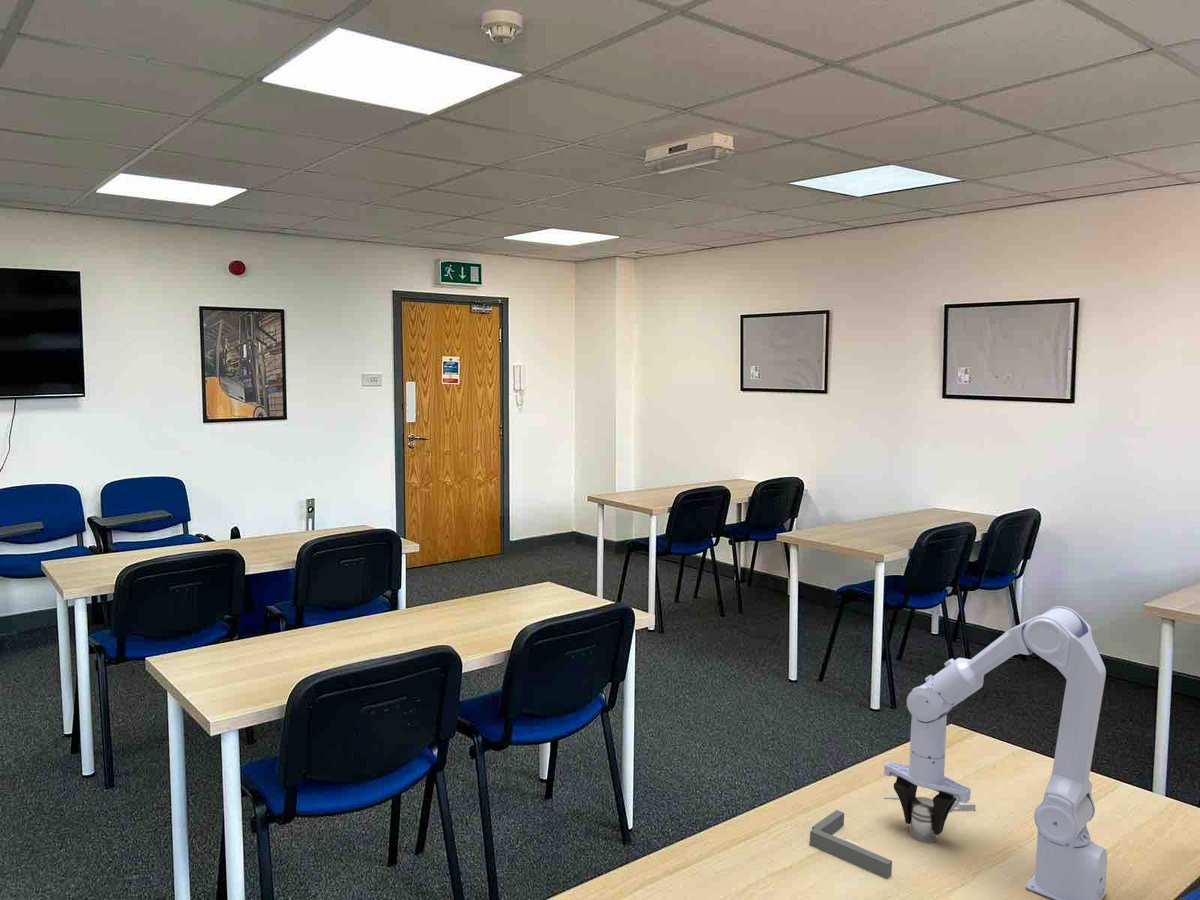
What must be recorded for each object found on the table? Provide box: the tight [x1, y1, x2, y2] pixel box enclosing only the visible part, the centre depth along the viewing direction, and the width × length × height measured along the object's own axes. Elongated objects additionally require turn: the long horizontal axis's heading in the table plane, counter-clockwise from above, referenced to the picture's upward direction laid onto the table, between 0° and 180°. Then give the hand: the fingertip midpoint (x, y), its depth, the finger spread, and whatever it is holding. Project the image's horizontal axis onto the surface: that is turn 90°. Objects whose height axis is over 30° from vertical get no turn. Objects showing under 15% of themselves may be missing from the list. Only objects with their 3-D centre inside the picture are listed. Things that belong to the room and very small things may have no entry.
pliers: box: [883, 794, 976, 825], centre depth 159 cm, size 10×2×15 cm
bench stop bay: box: [809, 809, 893, 879], centre depth 144 cm, size 14×10×2 cm
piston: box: [909, 796, 938, 844], centre depth 149 cm, size 5×5×6 cm
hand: (923, 826), depth 149 cm, fingers closed on piston, 4 cm apart
